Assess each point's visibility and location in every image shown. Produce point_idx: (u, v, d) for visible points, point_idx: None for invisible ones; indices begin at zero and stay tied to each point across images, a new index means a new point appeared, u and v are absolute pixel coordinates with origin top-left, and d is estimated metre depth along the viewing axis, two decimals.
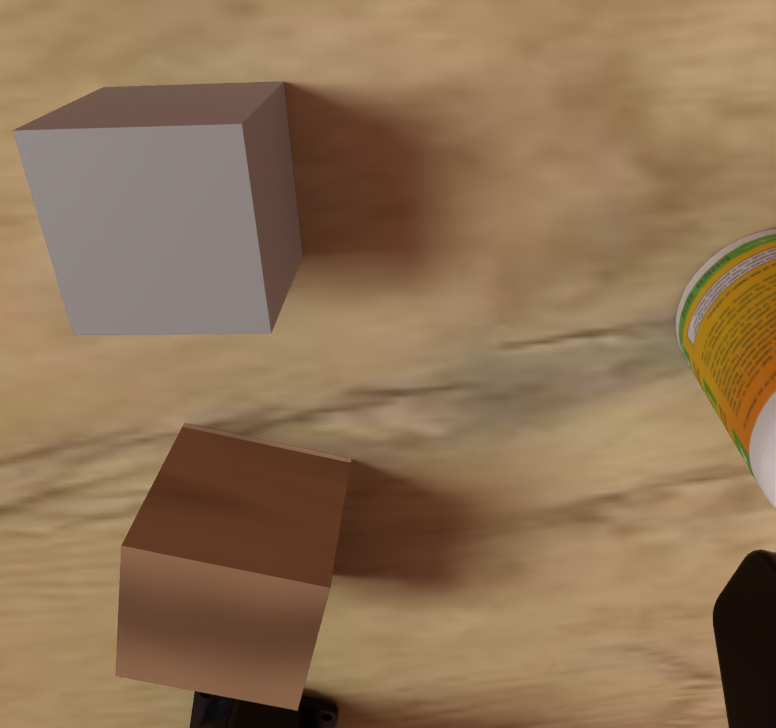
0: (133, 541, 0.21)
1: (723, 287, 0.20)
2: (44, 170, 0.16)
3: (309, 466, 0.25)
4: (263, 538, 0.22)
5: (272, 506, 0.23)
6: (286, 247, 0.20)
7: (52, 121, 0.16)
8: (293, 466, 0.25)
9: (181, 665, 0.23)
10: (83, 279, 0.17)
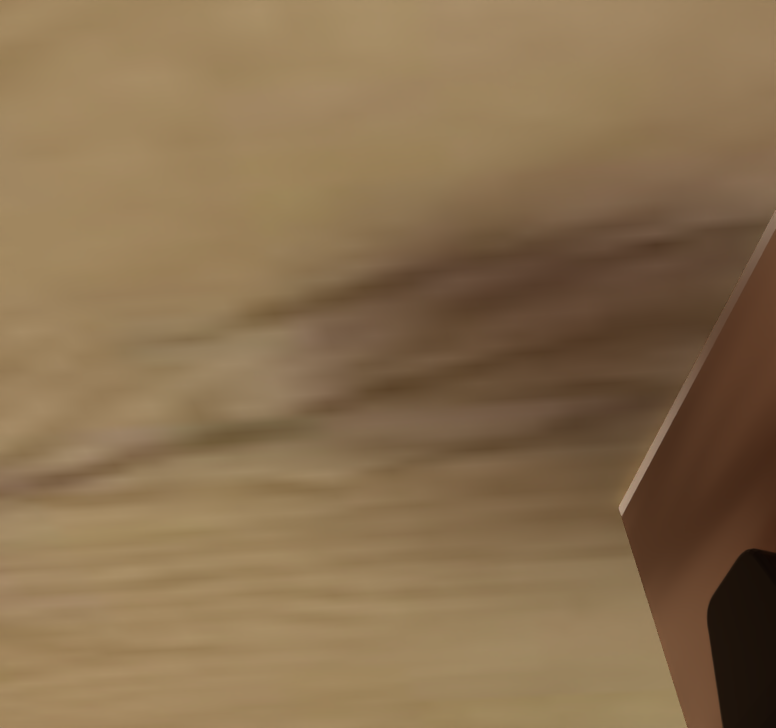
0: None
1: None
2: None
3: None
4: None
5: None
6: None
7: None
8: None
9: None
10: None
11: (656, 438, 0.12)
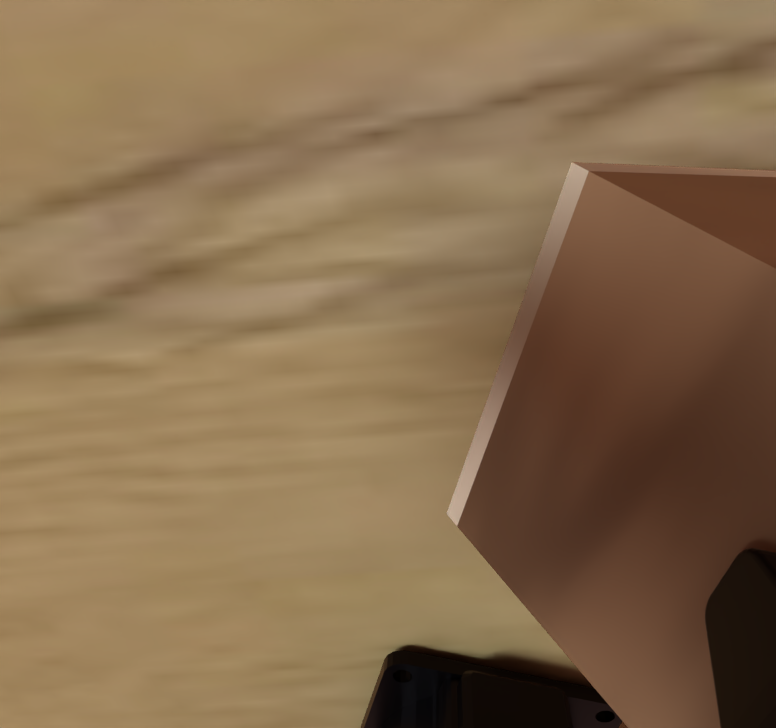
0: None
1: None
2: None
3: None
4: None
5: None
6: None
7: None
8: None
9: None
10: None
11: (478, 440, 0.11)
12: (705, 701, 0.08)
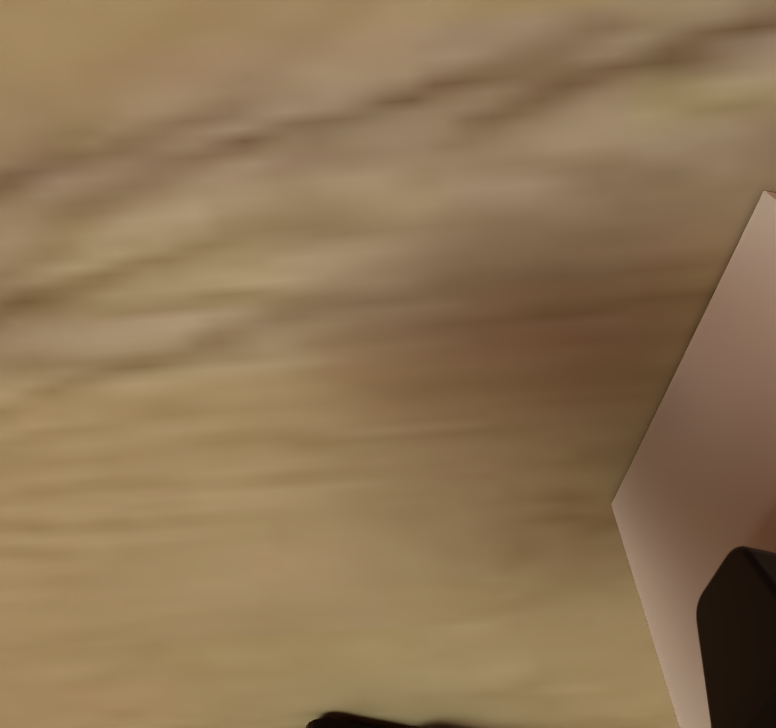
0: None
1: None
2: None
3: None
4: None
5: None
6: None
7: None
8: None
9: None
10: None
11: None
12: None
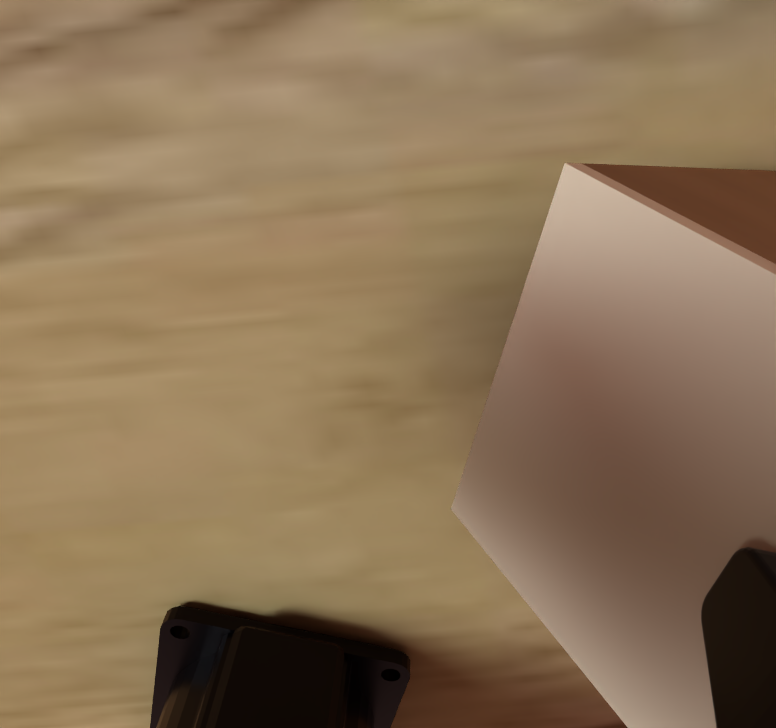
0: None
1: None
2: None
3: (697, 204, 0.09)
4: None
5: None
6: None
7: None
8: (742, 222, 0.09)
9: None
10: None
11: None
12: None
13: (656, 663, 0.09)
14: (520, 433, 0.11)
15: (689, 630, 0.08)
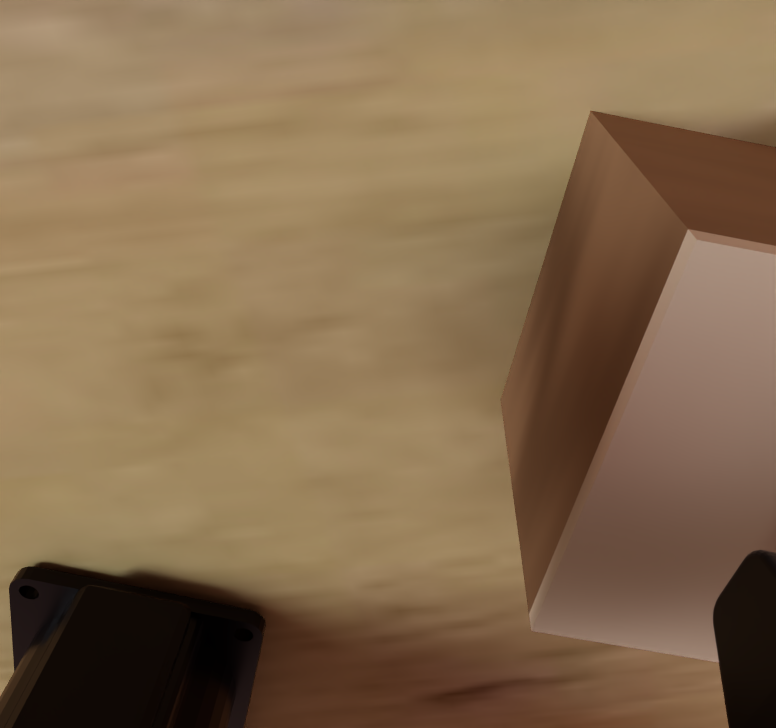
0: None
1: None
2: None
3: None
4: (744, 155, 0.11)
5: None
6: None
7: None
8: None
9: None
10: None
11: None
12: None
13: None
14: (646, 524, 0.09)
15: None
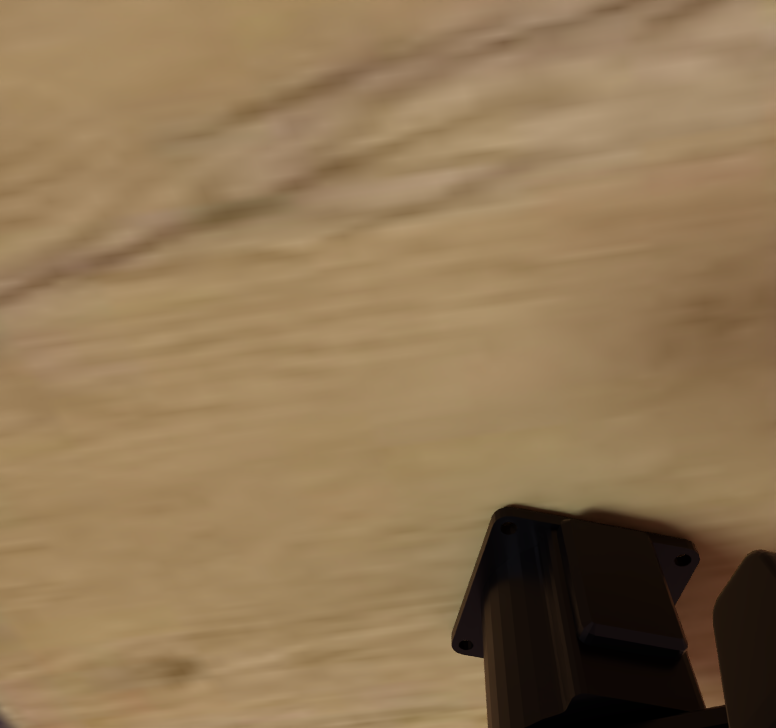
0: None
1: None
2: None
3: None
4: None
5: None
6: None
7: None
8: None
9: None
10: None
11: None
12: None
13: None
14: None
15: None
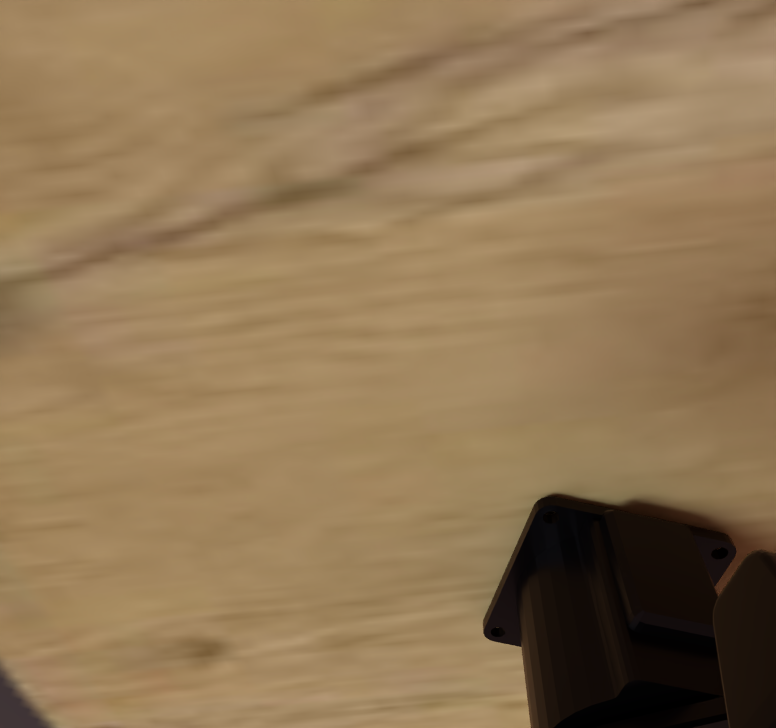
0: None
1: None
2: None
3: None
4: None
5: None
6: None
7: None
8: None
9: None
10: None
11: None
12: None
13: None
14: None
15: None
